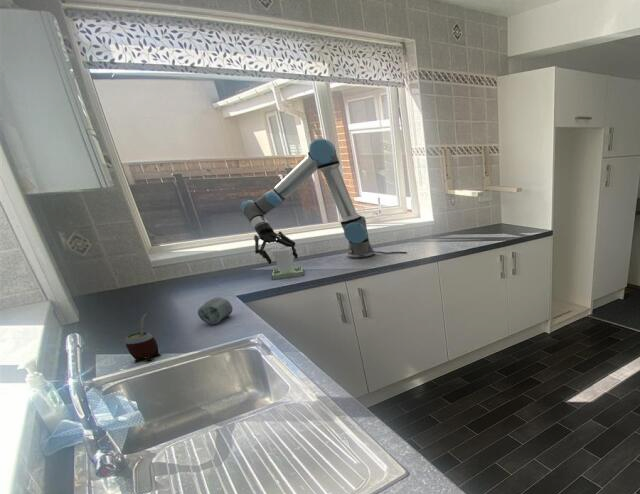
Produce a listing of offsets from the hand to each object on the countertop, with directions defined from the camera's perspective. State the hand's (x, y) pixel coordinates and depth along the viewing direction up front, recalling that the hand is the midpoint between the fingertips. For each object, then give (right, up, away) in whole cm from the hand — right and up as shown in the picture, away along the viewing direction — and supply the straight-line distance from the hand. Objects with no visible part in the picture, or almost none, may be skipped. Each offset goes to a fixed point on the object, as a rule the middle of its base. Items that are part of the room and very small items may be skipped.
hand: (283, 259), depth 217 cm
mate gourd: (+4, -50, -85) cm, 99 cm away
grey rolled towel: (+5, -36, -56) cm, 67 cm away
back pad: (+1, -7, +3) cm, 8 cm away
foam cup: (+1, -7, +3) cm, 7 cm away
